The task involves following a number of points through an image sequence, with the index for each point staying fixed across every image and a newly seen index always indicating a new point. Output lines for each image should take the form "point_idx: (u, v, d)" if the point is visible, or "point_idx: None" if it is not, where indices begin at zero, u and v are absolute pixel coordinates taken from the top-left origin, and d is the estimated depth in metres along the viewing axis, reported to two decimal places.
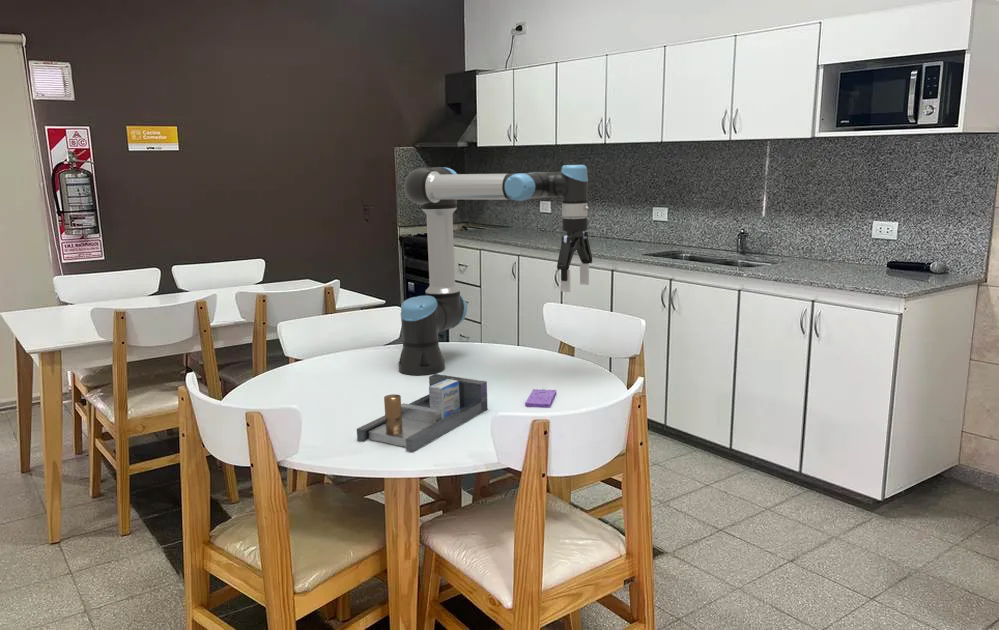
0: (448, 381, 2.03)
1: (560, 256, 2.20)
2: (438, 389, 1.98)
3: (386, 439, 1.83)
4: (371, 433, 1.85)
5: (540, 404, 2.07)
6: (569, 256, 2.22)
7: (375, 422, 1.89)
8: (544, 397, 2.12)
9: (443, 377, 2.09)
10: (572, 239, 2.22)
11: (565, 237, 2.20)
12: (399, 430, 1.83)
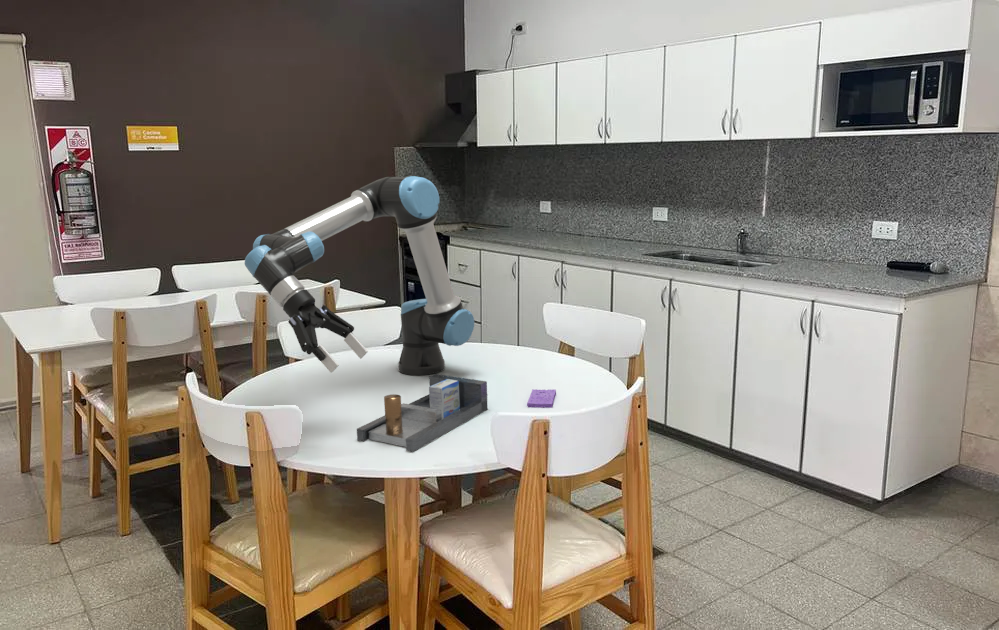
0: (448, 381, 2.03)
1: None
2: (438, 389, 1.98)
3: (386, 439, 1.83)
4: (371, 433, 1.85)
5: (542, 404, 2.07)
6: None
7: (375, 422, 1.89)
8: (545, 397, 2.12)
9: (443, 377, 2.09)
10: None
11: None
12: (399, 430, 1.83)
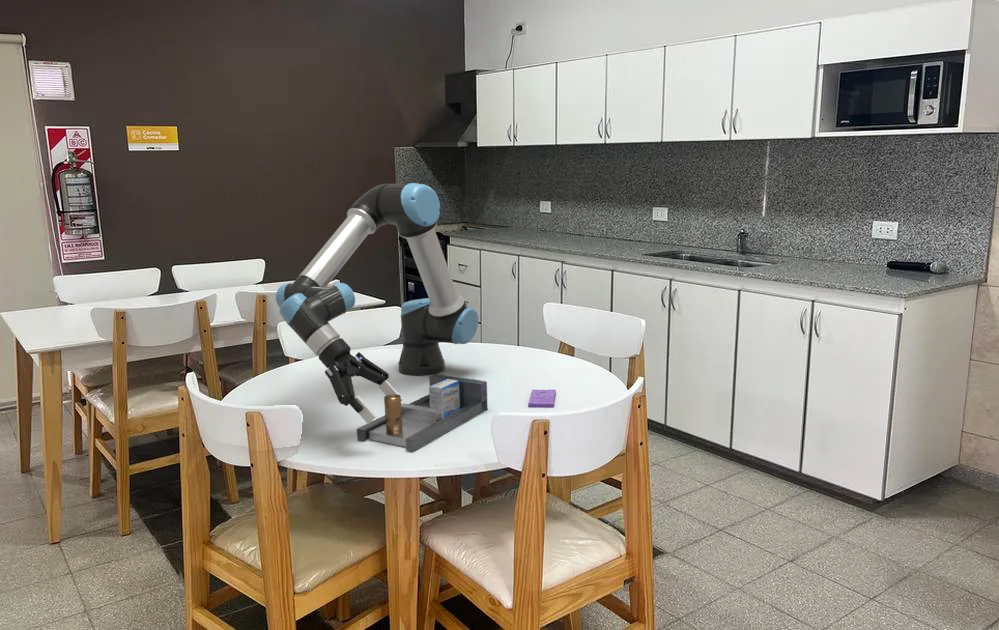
0: (448, 381, 2.03)
1: None
2: (438, 389, 1.98)
3: (386, 439, 1.83)
4: (371, 433, 1.85)
5: (544, 404, 2.07)
6: None
7: (375, 422, 1.89)
8: (545, 397, 2.12)
9: (443, 377, 2.09)
10: None
11: None
12: (399, 430, 1.83)
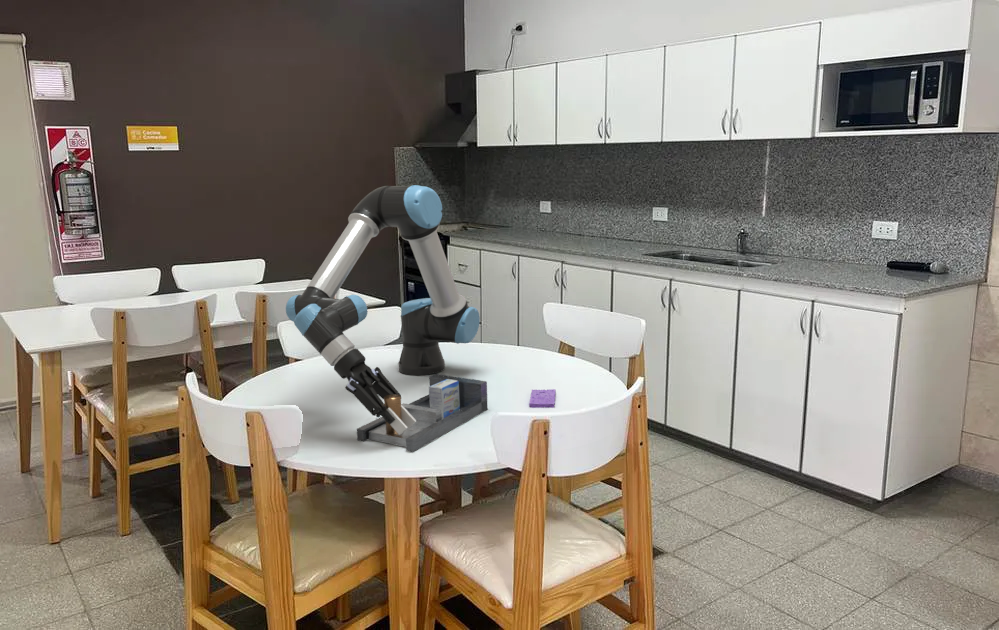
0: (448, 381, 2.03)
1: None
2: (438, 389, 1.98)
3: (386, 439, 1.83)
4: (371, 433, 1.85)
5: (545, 404, 2.07)
6: None
7: (375, 422, 1.89)
8: (546, 397, 2.12)
9: (443, 377, 2.09)
10: None
11: None
12: None
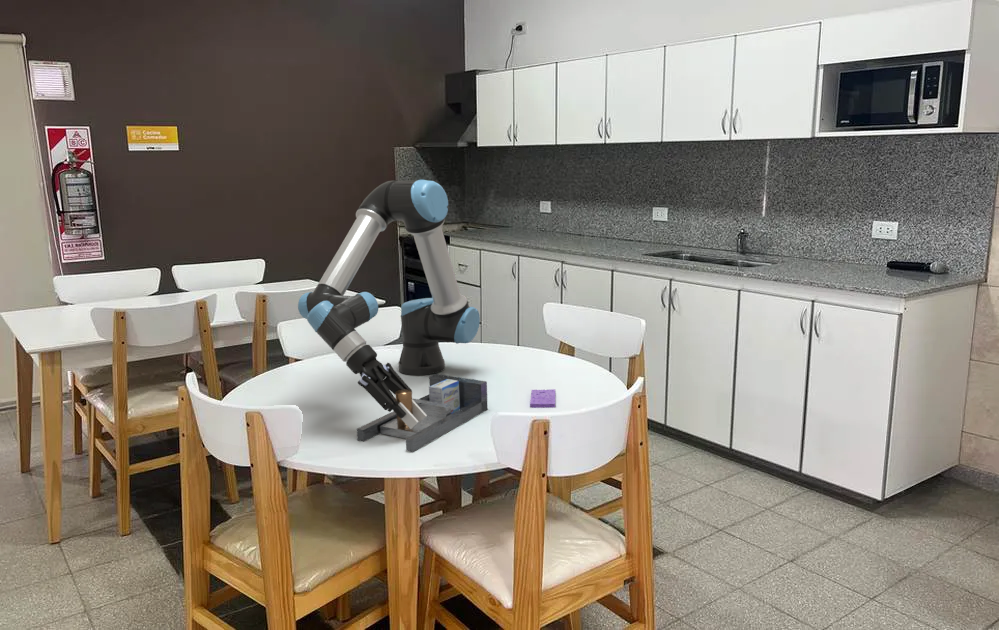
0: (448, 381, 2.03)
1: None
2: (438, 389, 1.98)
3: (397, 433, 1.87)
4: (382, 427, 1.89)
5: (545, 404, 2.07)
6: None
7: (375, 422, 1.89)
8: (546, 397, 2.12)
9: (443, 377, 2.09)
10: None
11: None
12: None
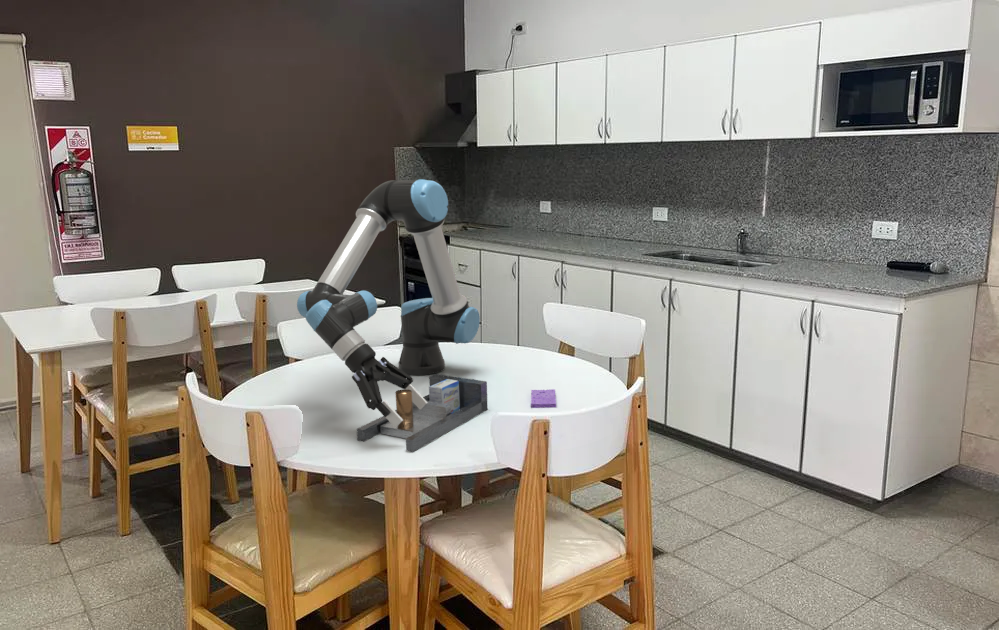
0: (448, 381, 2.03)
1: None
2: (438, 389, 1.98)
3: (397, 433, 1.87)
4: (383, 427, 1.89)
5: (546, 404, 2.07)
6: None
7: (375, 422, 1.89)
8: (547, 397, 2.12)
9: (443, 377, 2.09)
10: None
11: None
12: (410, 424, 1.87)
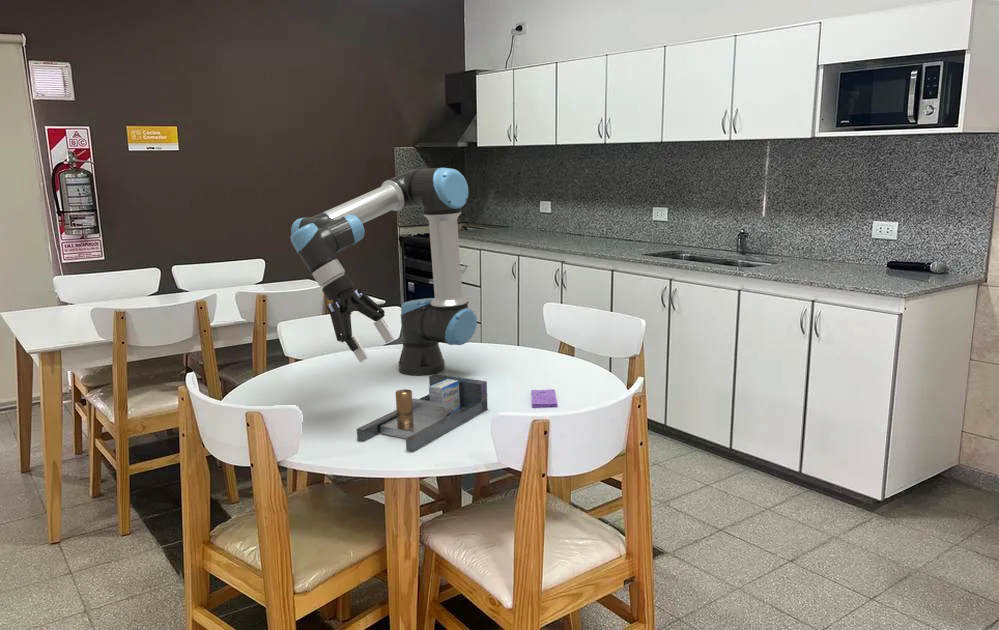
0: (448, 381, 2.03)
1: None
2: (438, 389, 1.98)
3: (397, 433, 1.87)
4: (383, 427, 1.89)
5: (548, 404, 2.07)
6: None
7: (375, 422, 1.89)
8: (547, 397, 2.12)
9: (443, 377, 2.09)
10: None
11: None
12: (410, 424, 1.87)
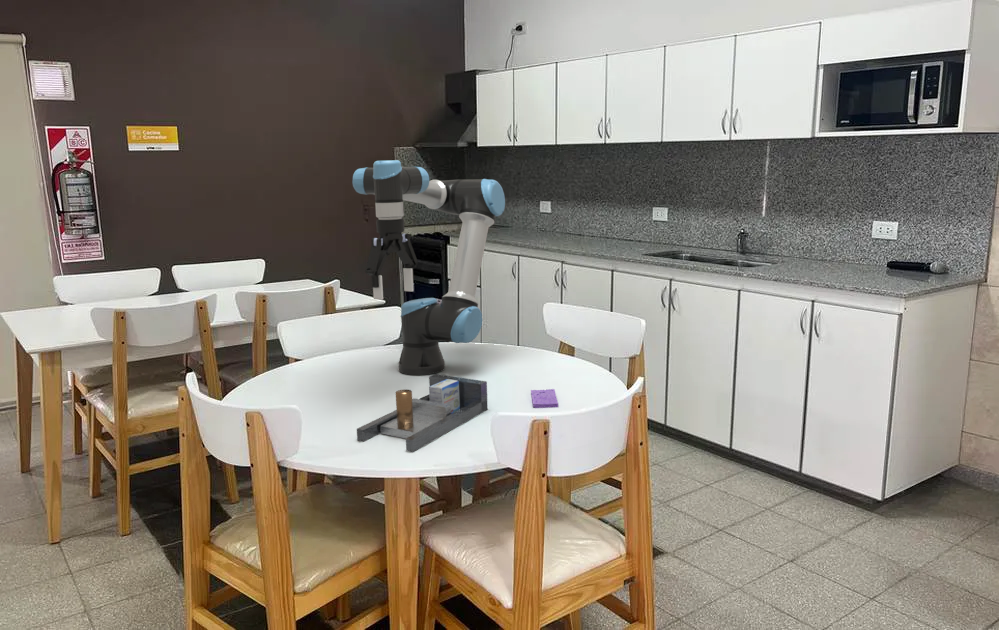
0: (448, 381, 2.03)
1: None
2: (438, 389, 1.98)
3: (397, 433, 1.87)
4: (383, 427, 1.89)
5: (549, 404, 2.07)
6: None
7: (375, 422, 1.89)
8: (548, 397, 2.12)
9: (443, 377, 2.09)
10: None
11: None
12: (410, 424, 1.87)
